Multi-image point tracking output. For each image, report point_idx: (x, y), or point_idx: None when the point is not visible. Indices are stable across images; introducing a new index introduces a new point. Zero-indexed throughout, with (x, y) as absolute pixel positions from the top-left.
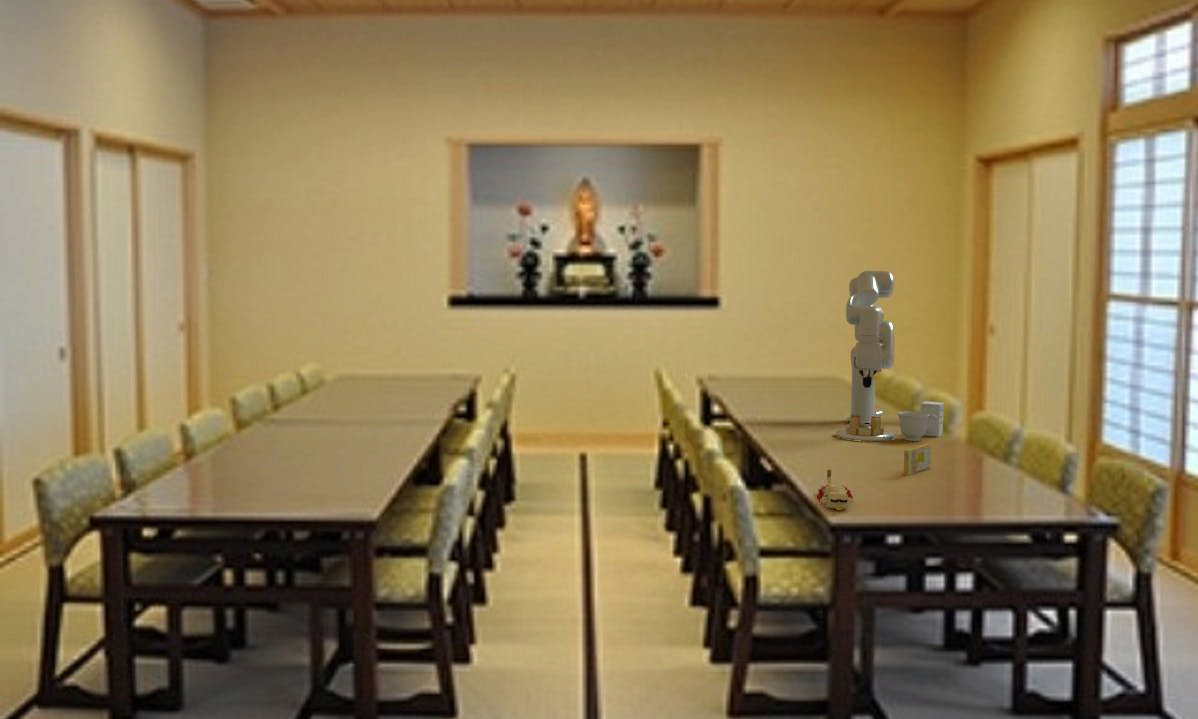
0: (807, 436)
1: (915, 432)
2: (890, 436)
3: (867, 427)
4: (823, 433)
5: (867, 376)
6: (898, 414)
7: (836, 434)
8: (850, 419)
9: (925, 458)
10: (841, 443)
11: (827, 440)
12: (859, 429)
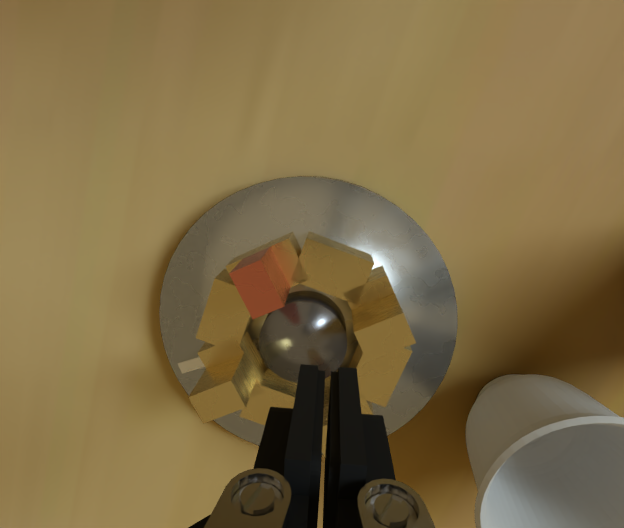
0: (33, 286)
1: (512, 486)
2: (396, 427)
3: None
4: (125, 199)
5: (337, 508)
6: (476, 502)
7: (162, 316)
8: (193, 397)
9: None
10: (154, 462)
11: (108, 393)
12: (245, 415)
